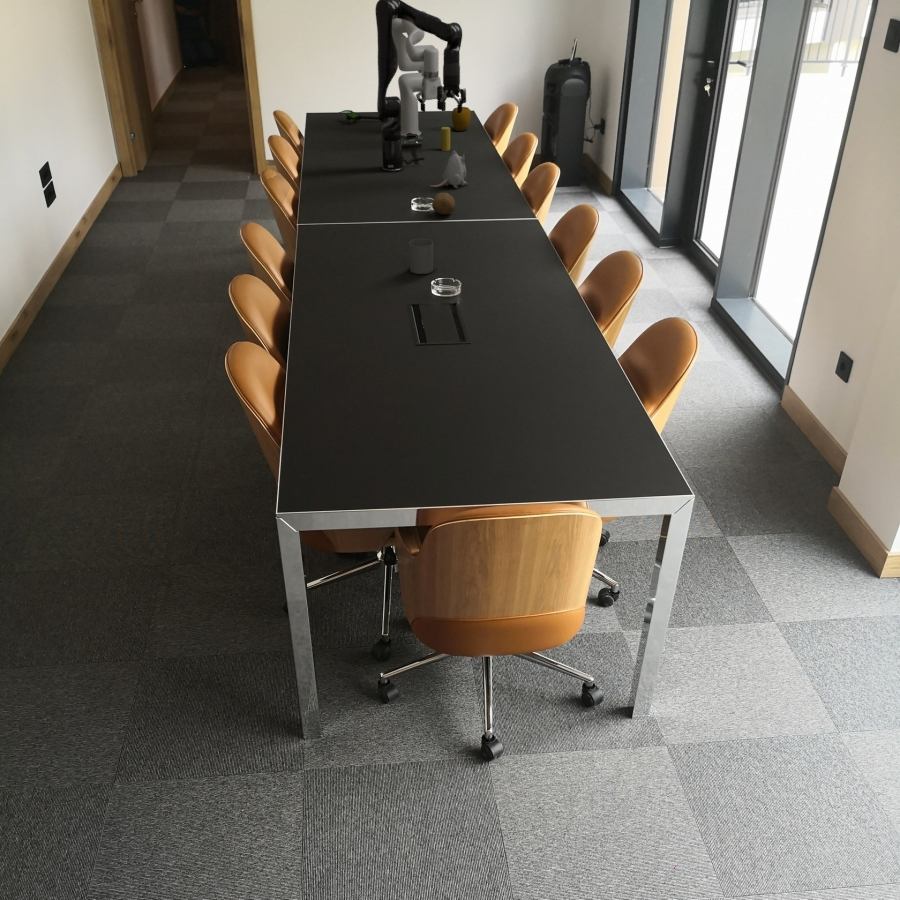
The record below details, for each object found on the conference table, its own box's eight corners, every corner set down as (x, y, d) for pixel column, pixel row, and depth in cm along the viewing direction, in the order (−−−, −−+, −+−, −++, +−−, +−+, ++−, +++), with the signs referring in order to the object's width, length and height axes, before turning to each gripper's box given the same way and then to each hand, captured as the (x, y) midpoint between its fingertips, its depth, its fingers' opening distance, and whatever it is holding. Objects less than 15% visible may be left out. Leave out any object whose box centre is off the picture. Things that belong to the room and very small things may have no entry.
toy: (472, 184, 399) (472, 151, 391) (436, 195, 384) (436, 161, 376) (457, 180, 404) (458, 147, 396) (422, 191, 389) (421, 157, 381)
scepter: (388, 107, 510) (337, 105, 507) (388, 120, 503) (336, 118, 500) (388, 116, 515) (337, 114, 512) (388, 129, 507) (337, 127, 505)
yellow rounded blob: (471, 132, 486) (471, 108, 479) (451, 132, 486) (451, 108, 479) (470, 128, 495) (471, 104, 488) (452, 128, 495) (452, 104, 488)
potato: (453, 208, 369) (453, 189, 365) (456, 218, 357) (456, 199, 353) (431, 208, 368) (430, 189, 364) (432, 218, 356) (432, 199, 352)
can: (449, 151, 451) (449, 129, 445) (440, 150, 452) (440, 128, 446) (451, 149, 455) (451, 127, 449) (442, 148, 456) (442, 126, 450)
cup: (409, 265, 311) (408, 238, 306) (432, 265, 312) (431, 238, 307) (410, 274, 304) (409, 246, 299) (433, 273, 305) (433, 246, 299)
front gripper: (469, 73, 381) (469, 112, 390) (443, 70, 388) (443, 108, 396) (460, 76, 376) (460, 115, 384) (433, 72, 382) (433, 111, 391)
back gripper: (419, 77, 430) (420, 113, 440) (449, 74, 438) (449, 110, 447) (412, 75, 436) (413, 110, 445) (442, 72, 443) (441, 107, 453)
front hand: (451, 112), depth 390 cm, fingers open, 8 cm apart
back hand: (431, 110), depth 446 cm, fingers open, 9 cm apart
